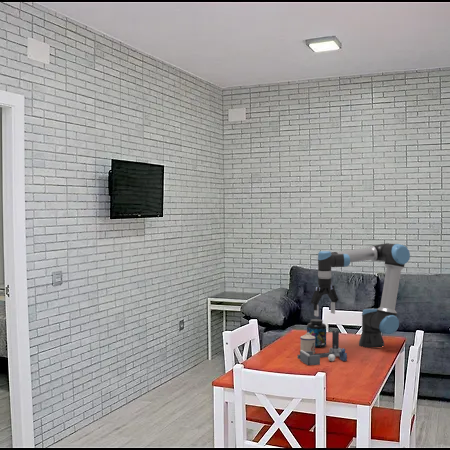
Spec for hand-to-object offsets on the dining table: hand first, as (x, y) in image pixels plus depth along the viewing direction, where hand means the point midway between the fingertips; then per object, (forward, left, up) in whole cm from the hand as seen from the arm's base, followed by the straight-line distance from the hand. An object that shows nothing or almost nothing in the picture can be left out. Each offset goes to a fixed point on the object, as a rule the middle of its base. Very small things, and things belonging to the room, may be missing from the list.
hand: (324, 314), depth 348 cm
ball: (+1, +13, -22) cm, 25 cm away
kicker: (-6, +8, -23) cm, 25 cm away
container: (-6, -24, -24) cm, 35 cm away
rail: (+4, +3, -24) cm, 24 cm away
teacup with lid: (+5, -11, -24) cm, 27 cm away
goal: (+14, +13, -24) cm, 31 cm away
